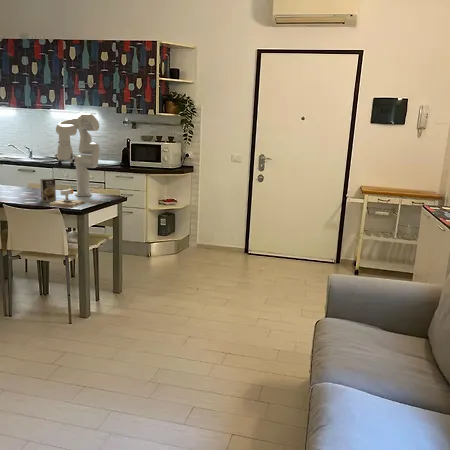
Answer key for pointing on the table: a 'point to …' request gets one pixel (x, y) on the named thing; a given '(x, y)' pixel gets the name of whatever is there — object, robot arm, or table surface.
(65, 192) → the t key
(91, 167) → the robot arm
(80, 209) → the table surface
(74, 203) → the key plate
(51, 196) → the coffee box
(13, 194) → the table surface
